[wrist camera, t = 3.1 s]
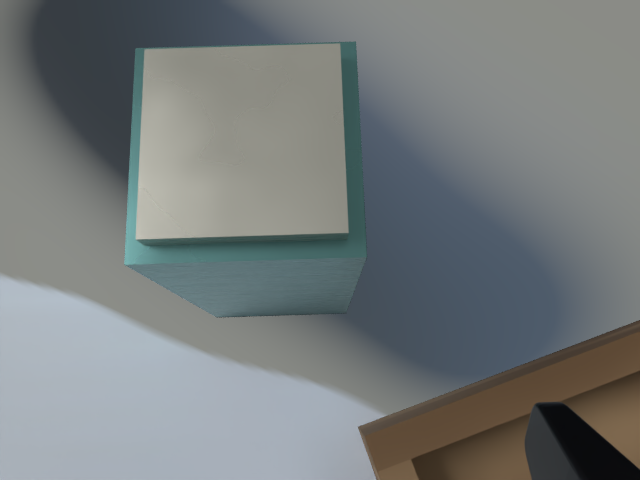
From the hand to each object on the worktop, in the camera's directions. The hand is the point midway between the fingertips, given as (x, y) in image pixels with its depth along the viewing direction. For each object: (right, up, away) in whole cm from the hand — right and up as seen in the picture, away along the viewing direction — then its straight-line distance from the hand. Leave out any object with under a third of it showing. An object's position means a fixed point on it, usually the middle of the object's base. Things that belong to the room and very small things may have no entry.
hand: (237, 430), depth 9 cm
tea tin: (0, +2, +12) cm, 12 cm away
